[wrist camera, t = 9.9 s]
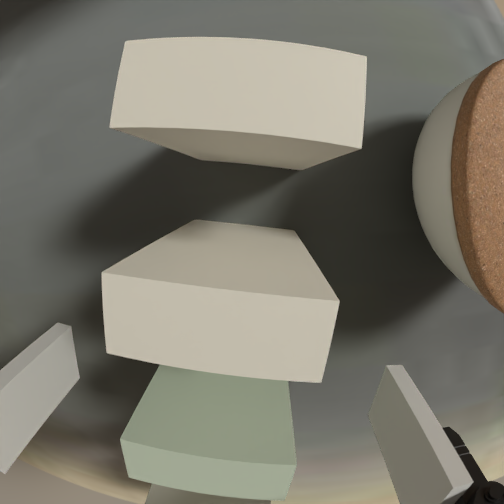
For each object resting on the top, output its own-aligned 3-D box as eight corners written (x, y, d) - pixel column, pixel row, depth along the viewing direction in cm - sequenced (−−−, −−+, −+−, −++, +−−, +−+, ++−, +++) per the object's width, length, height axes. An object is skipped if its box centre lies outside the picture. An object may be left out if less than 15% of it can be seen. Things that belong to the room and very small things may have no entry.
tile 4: (187, 384, 18) (140, 516, 8) (269, 394, 18) (270, 536, 8) (187, 408, 19) (146, 535, 9) (264, 418, 19) (263, 552, 9)
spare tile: (189, 311, 17) (119, 438, 7) (281, 322, 17) (296, 464, 7) (188, 343, 18) (128, 477, 8) (276, 354, 18) (284, 500, 8)
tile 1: (205, 121, 15) (125, 40, 5) (305, 131, 15) (367, 56, 5) (200, 160, 15) (109, 128, 6) (301, 170, 15) (361, 148, 6)
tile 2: (195, 219, 16) (101, 272, 6) (294, 230, 16) (339, 301, 6) (192, 257, 17) (106, 353, 7) (288, 268, 16) (321, 382, 7)
